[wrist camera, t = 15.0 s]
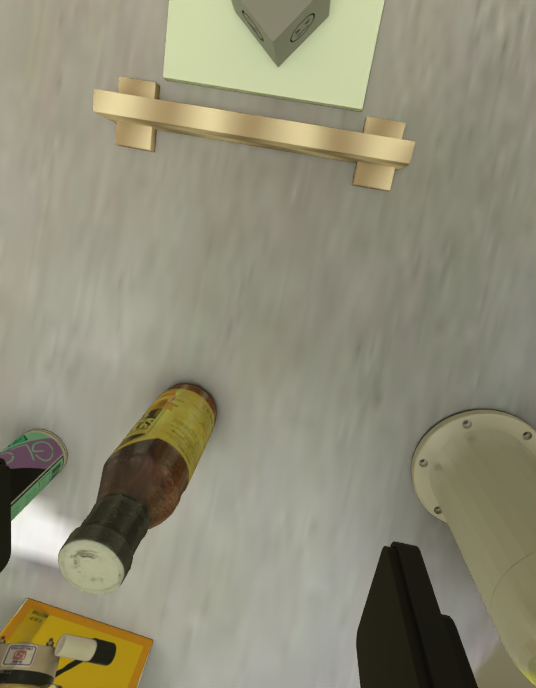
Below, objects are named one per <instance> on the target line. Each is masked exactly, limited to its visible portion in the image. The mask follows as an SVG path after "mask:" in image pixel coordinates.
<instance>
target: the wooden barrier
mask: <svg viewBox="0 0 536 688" xmlns="http://www.w3.org/2000/svg"><path fill="white" fill-rule="evenodd" d="M159 89H160V86H159V85H158V84H157V83H156V82H149V81H143V80H137V79H131V78H125V77H119V87H118V93H115V92H109V91H103V90H97V89H94V101H93V111H94V112H96V113H98V114H100V115H102V116H104V117H106V118H107V119H109V120H111V121H113V122H115V123H116V141H115V144H116V145H119V146H123V147H129V148H135V149H141V150H147V151H153V152H154V151H155V139H156V129H157V130H163V131H169V132H175V133H181V134H187V135H193V136H199V137H205V138H211V139H217V140H223V141H229V142H235V143H241V144H247V145H253V146H259V147H265V148H271V149H277V150H283V151H289V152H295V153H301V154H307V155H313V156H319V157H325V158H331V159H337V160H343V161H349V162H355V163H357V164H356V169H355V173H354V178H353V183H352V185H354V186H360V187H366V188H372V189H378V190H384V191H389V190H390V188H391V183H392V179H393V175H394V171H395V169H397V170H400V169H401V168H403V167H405V166H407V165H409V164H410V162H411V157H412V153H413V149H414V145H415V141H409V140H402V136H403V132H404V128H405V124H406V123H403V122H397V121H390V120H384V119H378V118H372V117H367V118H366V121H365V126H364V130H363V133H360V132H354V131H347V130H341V129H335V128H329V127H323V126H317V125H311V124H305V123H298V122H292V121H286V120H280V119H274V118H268V117H262V116H256V115H250V114H243V113H237V112H231V111H225V110H219V109H213V108H207V107H201V106H194V105H188V104H182V103H176V102H170V101H164V100H159Z"/></svg>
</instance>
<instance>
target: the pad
mask: <svg viewBox="0 0 536 688" xmlns="http://www.w3.org/2000/svg"><path fill="white" fill-rule="evenodd" d="M384 1H385V0H330V10H329V17H328V18H327V19H326V20H325V21H324V22H323V23H322V24H321V25H320V26H319V27H318V28H317V29H316V30H315V31H314V32H313V33H312V34H311V35H310V36H309V37H308V38H307V39H306V40H305V41H304V42H303V43H302V44H301V45H300V46H299V47H298V48H297V49H296V50H295V51H294V52H293V53H292V54H291V55H290V56H289V57H288V58H287V59H286V60H285V61H284V62H283V63H282V64H281V65H280V66H279V67H277V66H276V64H275V63H274V62H273V60H272V59H271V58H270V57H269V55H268V54H267V53H266V51H265V50H264V49H263V47H262V46H261V45H260V44H259V42H258V41H257V40H256V38H255V37H254V36H253V34H252V33H251V32H250V31H249V29H248V28H247V27H246V25H245V24H244V23H243V21H242V20H241V19H240V18H239V16H238V15H237V14H236V12H235V10H234V7H233V4H232V1H231V0H169V10H168V23H167V35H166V47H165V59H164V72H163V78H164V79H165V80H167V81H173V82H180V83H186V84H192V85H198V86H204V87H211V88H217V89H223V90H229V91H235V92H242V93H248V94H254V95H260V96H266V97H273V98H279V99H285V100H291V101H297V102H304V103H310V104H316V105H322V106H328V107H335V108H341V109H347V110H353V111H359V112H361V111H362V108H363V103H364V98H365V93H366V88H367V83H368V78H369V74H370V69H371V64H372V59H373V54H374V49H375V44H376V39H377V35H378V30H379V25H380V20H381V15H382V10H383V5H384Z"/></svg>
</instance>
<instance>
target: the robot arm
mask: <svg viewBox="0 0 536 688" xmlns="http://www.w3.org/2000/svg"><path fill="white" fill-rule="evenodd" d="M465 420H466V421H465ZM464 421H465V422H464ZM422 459H423V460H422ZM411 477H412V483H413V486H414V489H415V491H416V494H417V496H418V498H419V500H420V502H421V503H422V504H423V506H424V507H425V508H426V509H427V510H428V511H429V512H430V513H431V514H432V515H433V516H435V517H436V518H438V519H440V520H441V521H443V522H445V523H448V525H449V528H450V530H451V532H452V534H453V536H454V539H455V541H456V543H457V545H458V547H459V550H460V552H461V554H462V556H463V558H464V561H465V563H466V565H467V567H468V569H469V571H470V574H471V576H472V578H473V580H474V582H475V585H476V587H477V589H478V591H479V593H480V596H481V598H482V600H483V602H484V604H485V607H486V609H487V611H488V613H489V615H490V617H491V620H492V622H493V624H494V626H495V628H496V630H497V632H498V634H499V637H500V639H501V641H502V643H503V645H504V647H505V649H506V650H507V652H508V654H509V655H510V657H511V659H512V660H513V661H514V663H515V664H516V666H517V667H518V668H519V669H520V671H521V672H522V673H523V674H524V675H525V676H526V677H527V678H528V679H529V680H530V681H531V682H532V683H533V684H534V685H535V686H536V431H535V430H534V429H533V428H531V427H530V426H529V425H528V424H527V423H525V422H524V421H522V420H521V419H519V418H517V417H515V416H513V415H510V414H508V413H505V412H500V411H495V410H474V411H467V412H463V413H460V414H457V415H454V416H451V417H449V418H447V419H445V420H443V421H442V422H440V423H439V424H437V425H436V426H435V427H433V428H432V429H431V430H430V431H429V432H428V433H427V434H426V435H425V436H424V437H423V438H422V440H421V442H420V443H419V445H418V446H417V448H416V450H415V453H414V456H413V459H412V465H411ZM10 555H11V469H10V467H9V466H6V462H5V460H4V459H2V458H0V572H1V571H2V570H3V569H4V568H5V566H6V565H7V563H8V561H9V558H10ZM356 648H357V658H358V667H359V676H360V686H361V688H478V687H477V684H476V681H475V678H474V675H473V673H472V670H471V667H470V664H469V661H468V659H467V656H466V653H465V650H464V647H463V645H462V642H461V639H460V636H459V633H458V631H457V628H456V626H455V623H454V621H453V620H452V618H451V617H450V616H447V615H442V614H441V612H440V609H439V606H438V603H437V600H436V597H435V594H434V591H433V588H432V585H431V582H430V579H429V576H428V573H427V570H426V567H425V564H424V561H423V558H422V555H421V552H420V550H419V548H418V547H417V546H414V545H409V544H404V543H399V542H392V544H391V546H390V547H387V546H384V547H383V549H382V552H381V555H380V558H379V562H378V565H377V568H376V571H375V575H374V578H373V581H372V584H371V588H370V591H369V594H368V597H367V601H366V604H365V607H364V611H363V614H362V617H361V620H360V624H359V627H358V631H357V639H356Z"/></svg>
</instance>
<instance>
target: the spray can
mask: <svg viewBox="0 0 536 688" xmlns="http://www.w3.org/2000/svg"><path fill="white" fill-rule="evenodd" d="M0 458H2V459H4V460H5V462H6V466H9V467H10V469H11V521H12V520H13V519H14V518H15V517H16V516H17V515H18V514H19V513H20V512H21V511H22V510H23V509H24V508H25V507H26V506H27V505H28V504H29V503H30V502H31V500H32V499H33V498H34V497H35V496H36V495H37V494H38V493H39V492H40V491H41V490H42V489H43V488H44V487H45V486H46V485H47V484H48V483H49V482H50V481H51V480H52V479H53V478H54V477H55V476H56V475H57V474H58V473H59V472H60V471H61V470H62V469H63V468H64V466H65V465H66V462H67V450H66V447H65V445H64V444H63V442H62V441H61V440H60V439H59V438H58V437H57V436H56V435H55V434H53V433H51V432H49V431H46V430H41V429H35V430H31V431H29V432H27V433H25V434H24V435H22V436H21V437H20V438H18V439H17V440H16V441H14V442H13V443H12V444H10V445H9V446H8V447H6V448H5V449H4V450H2V451H1V452H0Z"/></svg>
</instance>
